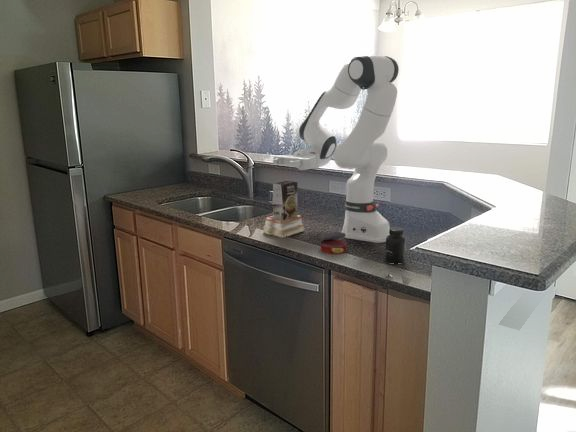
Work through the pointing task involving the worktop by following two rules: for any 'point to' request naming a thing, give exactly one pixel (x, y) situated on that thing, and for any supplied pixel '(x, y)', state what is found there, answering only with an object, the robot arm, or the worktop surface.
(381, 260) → the worktop surface
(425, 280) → the worktop surface
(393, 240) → the supplement bottle
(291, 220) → the tower base
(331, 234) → the canned food
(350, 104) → the robot arm
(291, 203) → the coffee box
